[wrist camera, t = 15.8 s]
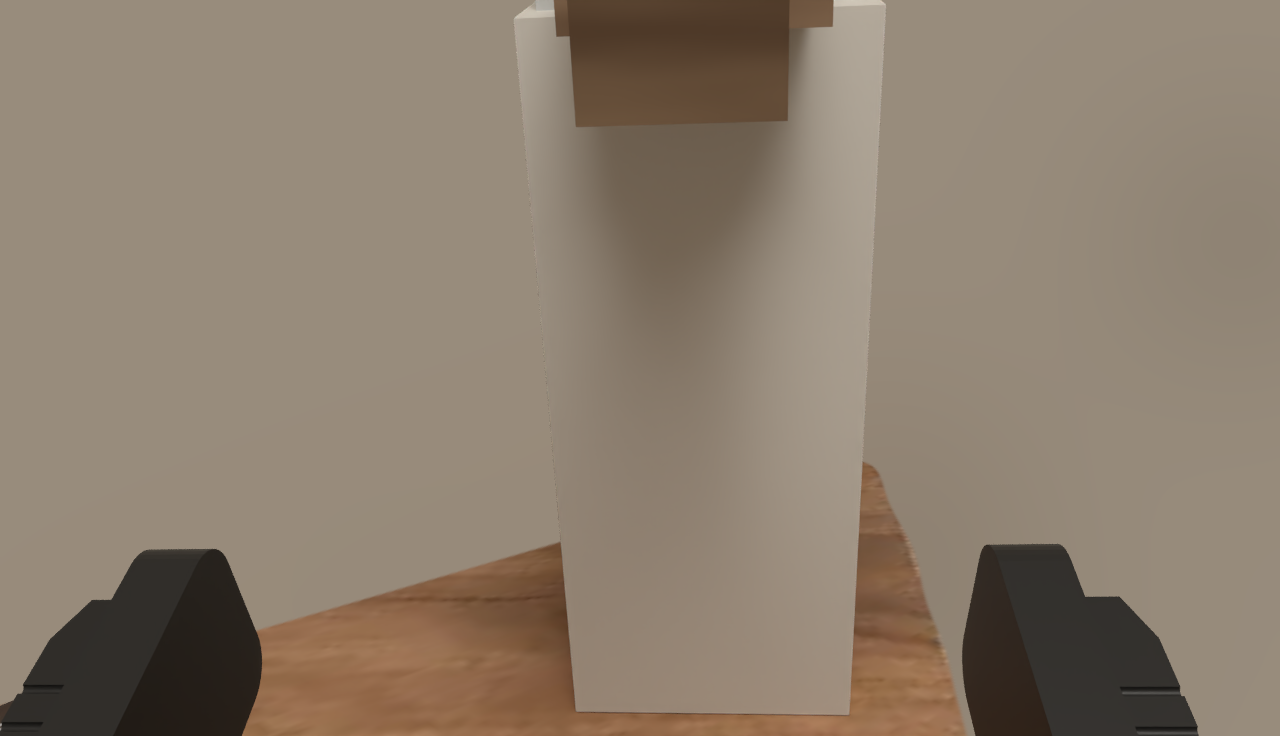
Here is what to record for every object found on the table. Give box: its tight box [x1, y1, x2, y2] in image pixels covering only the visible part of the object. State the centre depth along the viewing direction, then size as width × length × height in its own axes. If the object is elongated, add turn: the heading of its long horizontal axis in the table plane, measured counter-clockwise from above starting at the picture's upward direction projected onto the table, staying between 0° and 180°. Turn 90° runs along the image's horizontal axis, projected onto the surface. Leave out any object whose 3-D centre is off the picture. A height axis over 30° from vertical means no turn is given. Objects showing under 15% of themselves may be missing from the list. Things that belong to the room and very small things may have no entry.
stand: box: [514, 0, 886, 715], centre depth 47 cm, size 11×13×42 cm
